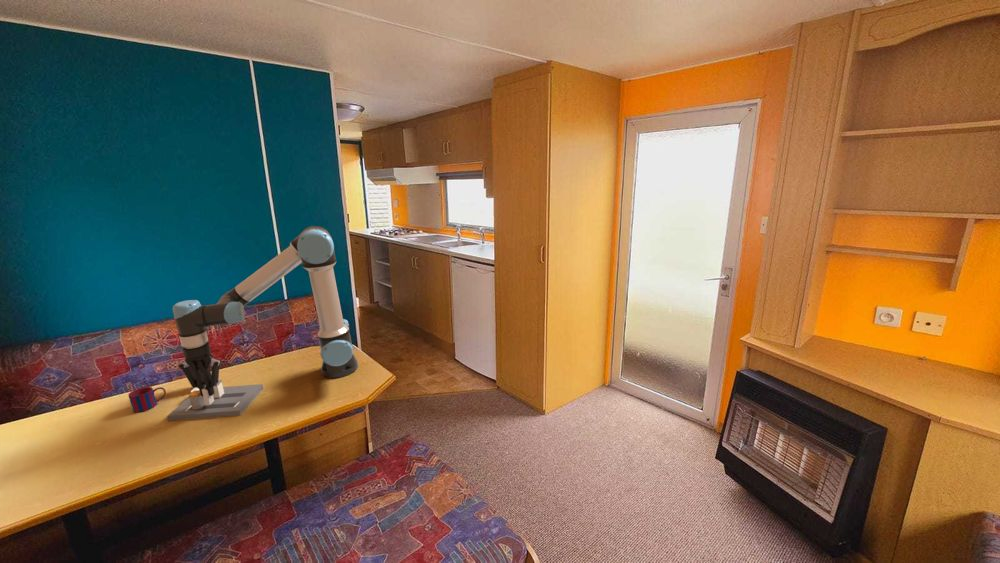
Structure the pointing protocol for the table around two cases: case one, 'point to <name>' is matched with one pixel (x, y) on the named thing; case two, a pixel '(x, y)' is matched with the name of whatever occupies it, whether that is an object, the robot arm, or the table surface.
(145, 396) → the mug
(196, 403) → the block
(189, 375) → the robot arm
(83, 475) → the table surface
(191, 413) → the panel
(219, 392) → the slider cream
